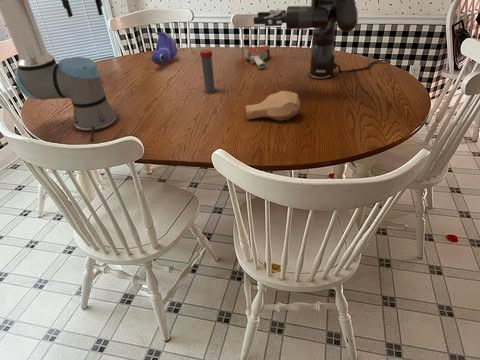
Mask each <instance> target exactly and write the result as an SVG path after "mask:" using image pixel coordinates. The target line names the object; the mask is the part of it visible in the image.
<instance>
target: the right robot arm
mask: <svg viewBox="0 0 480 360" xmlns="http://www.w3.org/2000/svg"><path fill="white" fill-rule="evenodd" d="M358 21H359V10H358V7H357V6H356V0H310V5H288V6H287V7H286V10H285V9H282V10H281V9H280V10H279V9H271V10H269V11H259V12H257V16H254V17H253V24H254V25H264V27H282V26H283V24H286V25H285V27H286V30H308V29H312V35H311V36H312V37H311V51H310V52H311V53H310V66H309V77H310V78H312V79H316V80H325V79H329V78H331V77H333V74H334V70H336V69H337V68H338V72H339V73H349V72H356V71H362V70H366V69H370V67H371V66H372V65H373V64H377V63H379V62H388V64H392V62H391V60H389V59H379V60H374V61H371V62H370V63H369V65H368V66H364V67H360V68H354V69H353V68H352V69H349V70H341V65H339V64H337V62H336V61H335V57H336V56H335V54H334V46H335V38H336V37H335V36H336V26H337V28H338V29H339V30H340V31H341V32H344V33H349V32H351V31H353V30H354V29H355V28H356V27H357V25H358Z"/></svg>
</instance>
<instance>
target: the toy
mask: <svg viewBox="0 0 480 360" xmlns="http://www.w3.org/2000/svg"><path fill="white" fill-rule="evenodd" d="M155 35H156V36H157V35H158V38H157V39H156V45H155V51H151V53H152V54H151V56H150V60H151V61H152V62H153V63H154V64H156V65H157V67H158V68H159V69H161V66H162V64H167V63H169V62H171V61H173V60H174V59H175V57H177V55H178V46H177V43H176V41H175V39H174V38H173V37H172V36H171V35H170V36H168V35H167V34H166V32H164V31H162V32H159V31H158V32H156V33H155Z"/></svg>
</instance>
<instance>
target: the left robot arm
mask: <svg viewBox="0 0 480 360" xmlns="http://www.w3.org/2000/svg"><path fill="white" fill-rule="evenodd" d="M60 1H61V3H62V6H63V8H64V9H65V10H66V13H67V16H68V18H71V17H73V16H74V15H73V12H72V8H71V5H70V2H69V0H60ZM94 2H95V5H96V9H97V12H98V16H102V15H103V13H104V12H103V9H102V7H103V1H102V0H94ZM0 14H1V17H2V18H3V21H4V24H5V26H6V29H7V30H8V33H9V35H10V38H11V41H12V43H13V45H14V48H15V50H16V52H17V55H18V57H19V59H18V60H17V62H16V65H17V67H16V68H15V70H14V76H15V77H14V80H15V84H16V86H17V87H18V89H19V90H20V92H21V94H23V95H24V96H25V97H26V98H29V99H31V100H41V101H44V100H45V101H47V100H59V99H69V100H70V101H71V104H72V108H73V114H72V117H73V118H72V119H73V125H74V128H75V129H76V131H78V132H84V133H90V142H93V141H94V132H99V131H102V130H105V129H107V128H110V127H111V126H113V125H115V124H116V122H117V121H118V116H117V114H116V111H115V110H114V108H113V107H112V105H111V103H110V102H109V101H108V99H107V96H106V92H105V89H104V87H103V86H104V85H103V83H102V79H101V73H100V71H99V69H98V66H97V64H96V62H95V61H94V60H92V59H90V58H88V57H84V56H83V57H82V56H70V57H65V58H62V59H60V60H59V61H58V63H57V61H56V59H55V56H54V55H53V54H51V53H49V52H48V51H47V47H46V45H45V42H44V39H43V36H42V34H41V31H40V28H39V26H38V23H37V20H36V18H35V14H34V12H33V9H32V6H31V3H30V1H29V0H0Z"/></svg>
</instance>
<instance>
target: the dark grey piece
mask: <svg viewBox="0 0 480 360" xmlns="http://www.w3.org/2000/svg"><path fill="white" fill-rule="evenodd" d="M200 58H201V59H200V60H201V67H202V76H203V84H204V93H206V94H212V93H215V92H216V88H215V77H214V66H213V59H212V58H213V56H212V57H209V58H202V57H200Z"/></svg>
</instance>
